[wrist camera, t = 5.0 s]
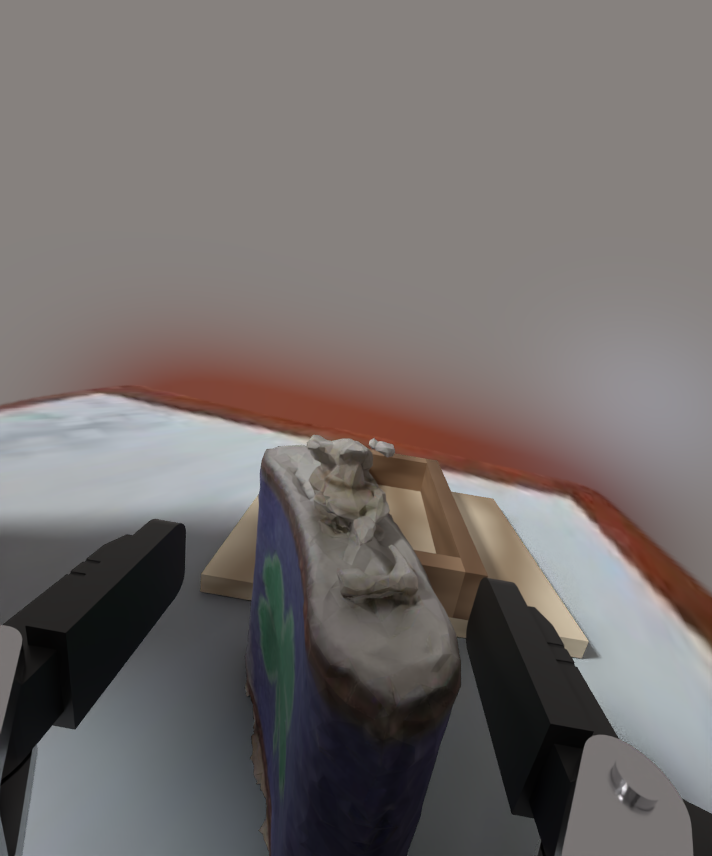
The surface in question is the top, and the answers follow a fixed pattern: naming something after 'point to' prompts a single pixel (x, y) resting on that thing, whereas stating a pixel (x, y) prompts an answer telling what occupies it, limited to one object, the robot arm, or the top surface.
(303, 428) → the top surface
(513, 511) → the top surface
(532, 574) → the slot board
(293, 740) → the flask
